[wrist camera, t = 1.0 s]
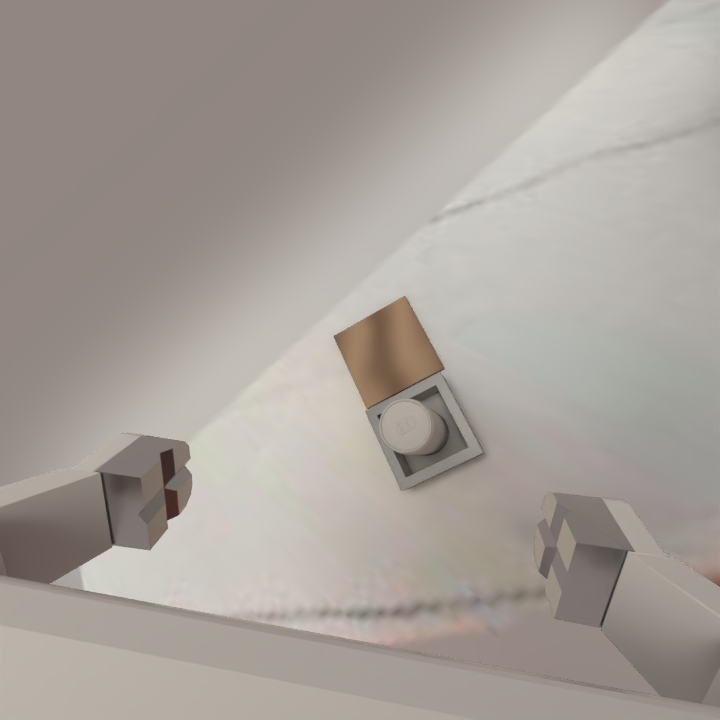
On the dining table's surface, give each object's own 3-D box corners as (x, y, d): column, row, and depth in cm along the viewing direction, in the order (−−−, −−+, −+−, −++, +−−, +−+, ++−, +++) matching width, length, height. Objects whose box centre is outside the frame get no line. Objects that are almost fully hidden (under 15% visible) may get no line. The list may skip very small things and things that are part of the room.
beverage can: (397, 425, 48) (367, 416, 37) (433, 402, 47) (413, 386, 36) (420, 463, 46) (395, 465, 35) (458, 440, 46) (444, 435, 35)
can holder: (444, 378, 48) (440, 372, 44) (484, 452, 45) (483, 452, 41) (375, 414, 49) (365, 411, 45) (409, 488, 46) (401, 491, 42)
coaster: (405, 297, 51) (404, 295, 50) (444, 368, 48) (443, 367, 47) (335, 337, 53) (333, 336, 52) (367, 408, 50) (366, 408, 49)
